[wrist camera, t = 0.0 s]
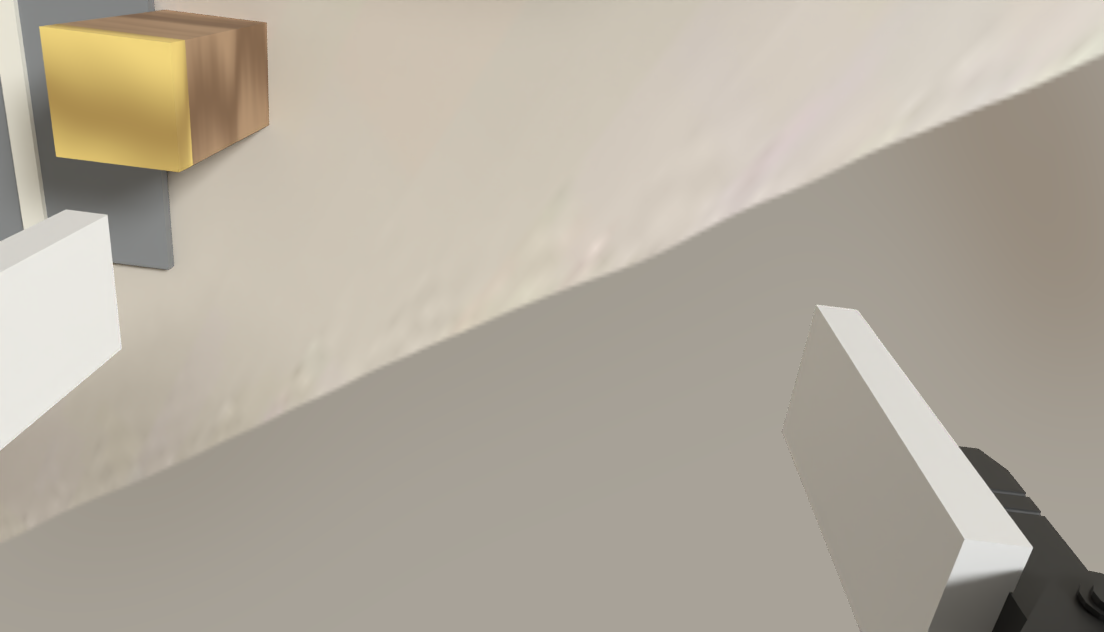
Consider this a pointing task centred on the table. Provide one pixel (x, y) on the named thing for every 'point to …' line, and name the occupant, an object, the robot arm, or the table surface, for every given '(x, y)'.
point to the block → (155, 87)
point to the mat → (62, 183)
